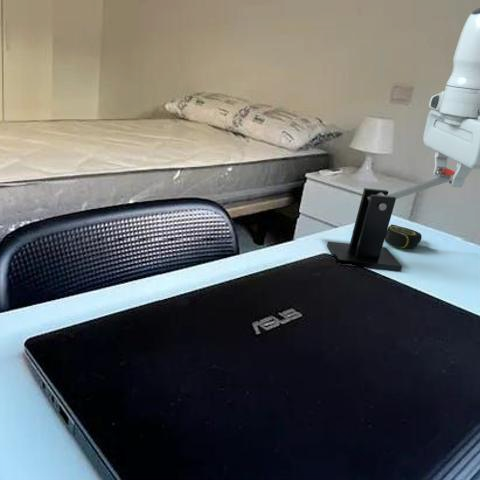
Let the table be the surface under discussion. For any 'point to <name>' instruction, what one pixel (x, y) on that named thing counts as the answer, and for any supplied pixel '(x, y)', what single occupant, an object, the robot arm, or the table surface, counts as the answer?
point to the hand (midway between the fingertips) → (446, 181)
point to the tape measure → (402, 237)
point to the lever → (421, 185)
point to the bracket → (369, 235)
